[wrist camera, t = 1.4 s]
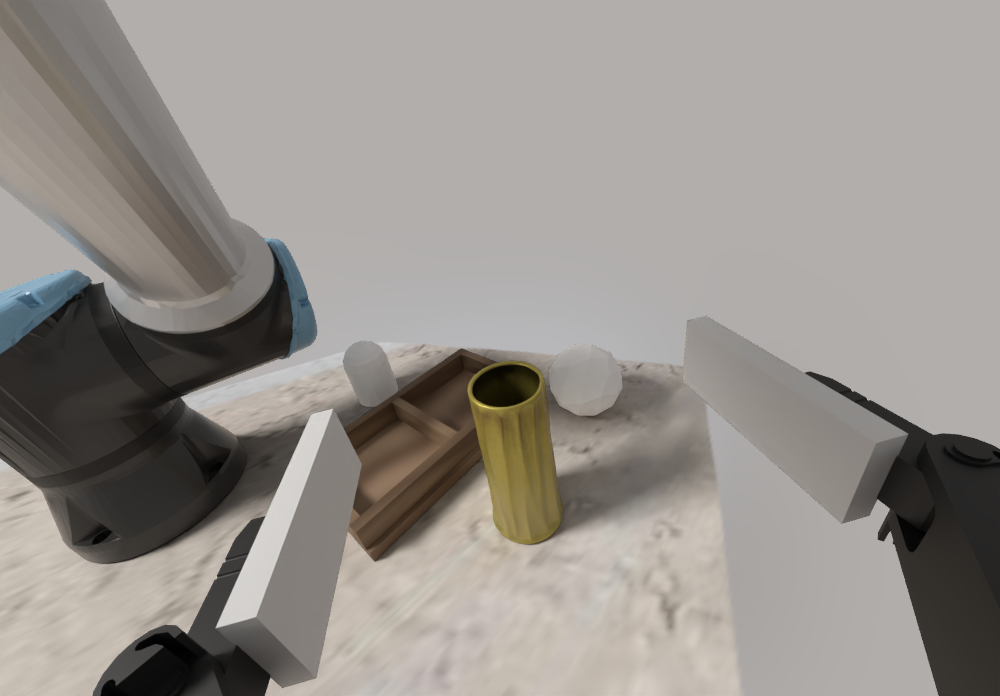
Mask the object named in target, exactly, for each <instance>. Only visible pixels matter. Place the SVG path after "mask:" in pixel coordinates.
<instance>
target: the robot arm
mask: <svg viewBox="0 0 1000 696" xmlns="http://www.w3.org/2000/svg"><path fill="white" fill-rule="evenodd" d="M0 186H1V187H2V188H4V189H5V190H6V191H7V192H8V193H10V194H11V195H12V196H13V197H15V198H16V199H17V200H18V201H19V202H21V203H22V204H23V205H24V206H26V207H27V208H28V209H29V210H31V211H32V212H33V213H34V214H35V215H36V216H38V217H39V218H40V219H41V220H43V221H44V222H45V223H46V224H47V225H49V226H50V227H51V228H52V229H54V230H55V231H56V232H57V233H58V234H60V235H61V236H62V237H63V238H64V239H66V240H67V241H68V242H70V243H71V244H72V245H73V246H74V247H76V248H77V249H78V250H79V251H80V252H82V253H83V254H84V255H85V256H86V257H88V258H89V259H90V260H91V261H93V262H94V263H95V264H96V265H98V266H99V267H100V268H101V269H102V270H104V282H103V283H99V284H92V283H91V281H92V280H91V279H90V278H89V277H88V276H85V275H83V274H82V273H81V272H79V271H77V270H65V271H63V272H59V273H56V274H50V275H47V276H44V277H41V278H38V279H35V280H32V281H29V282H27V283H24V284H21V285H18V286H16V287H13V288H10V289H8V290H5V291H2V292H0V458H1V459H2V460H3V461H4V462H6V463H7V464H8V465H10V466H11V467H12V468H14V469H15V470H16V471H18V472H19V473H20V474H21V475H23V476H24V477H26V478H27V479H28V480H29V481H31V482H32V483H33V484H34V485H35V486H37V487H38V488H39V489H40V490H41V491H42V492H43V494H44V497H45V499H46V501H47V504H48V506H49V508H50V511H51V513H52V515H53V518H54V520H55V522H56V525H57V527H58V529H59V532H60V534H61V536H62V539H63V541H64V542H65V544H66V545H67V546H68V547H69V548H70V549H72V550H73V551H74V552H76V553H77V554H79V555H80V556H81V557H83V558H84V559H86V560H88V561H90V562H94V563H112V562H118V561H122V560H126V559H129V558H132V557H135V556H138V555H141V554H143V553H146V552H148V551H150V550H152V549H155V548H157V547H159V546H161V545H162V544H164V543H166V542H168V541H170V540H172V539H173V538H175V537H176V536H178V535H180V534H181V533H183V532H184V531H186V530H187V529H189V528H190V527H191V526H193V525H194V524H196V523H197V522H198V521H199V520H201V519H202V518H203V517H204V516H206V515H207V514H208V513H209V512H210V511H211V510H212V509H214V508H215V507H216V506H217V505H218V504H219V503H220V502H221V501H222V500H223V499H224V498H225V496H226V495H227V494H228V493H229V492H230V490H231V489H232V488H233V487H234V485H235V484H236V482H237V481H238V479H239V477H240V476H241V474H242V472H243V469H244V467H245V463H246V452H245V449H244V448H243V446H242V445H241V443H240V442H239V441H238V439H237V438H236V437H235V436H234V435H233V434H232V433H231V432H230V431H228V430H227V429H225V428H223V427H222V426H220V425H218V424H217V423H215V422H213V421H211V420H210V419H208V418H206V417H205V416H203V415H201V414H200V413H198V412H196V411H194V410H193V409H191V408H189V407H188V406H187V405H186V404H185V402H184V401H183V400H182V399H181V396H184V395H187V394H189V393H191V392H194V391H197V390H199V389H201V388H204V387H207V386H209V385H212V384H215V383H217V382H220V381H223V380H225V379H228V378H230V377H233V376H236V375H238V374H241V373H243V372H246V371H249V370H251V369H254V368H256V367H259V366H262V365H264V364H267V363H269V362H272V361H275V360H277V359H285V358H288V357H290V356H291V355H292V354H293V353H295V352H297V351H299V350H302V349H304V348H306V347H308V346H310V345H311V344H312V343H313V342H314V341H315V339H316V336H317V325H316V320H315V316H314V312H313V309H312V306H311V303H310V301H309V300H308V295H307V291H306V288H305V285H304V282H303V280H302V277H301V275H300V272H299V270H298V268H297V266H296V264H295V261H294V260H293V257H292V256H291V254H290V252H289V250H288V249H287V247H286V246H285V244H284V243H283V242H281V241H280V240H277V239H266V238H262V237H261V236H260V235H259V234H258V233H257V232H256V231H255V230H254V229H252V228H251V227H249V226H247V225H246V224H244V223H242V222H239V221H237V220H235V219H232V218H231V217H230V216H229V214H228V212H227V211H226V209H225V207H224V205H223V204H222V202H221V200H220V199H219V197H218V195H217V193H216V192H215V190H214V188H213V186H212V185H211V183H210V181H209V179H208V178H207V176H206V174H205V173H204V171H203V169H202V168H201V166H200V164H199V162H198V161H197V159H196V157H195V155H194V154H193V152H192V150H191V148H190V147H189V145H188V143H187V142H186V140H185V138H184V136H183V135H182V133H181V131H180V130H179V128H178V126H177V124H176V123H175V121H174V119H173V117H172V116H171V114H170V112H169V110H168V109H167V107H166V105H165V104H164V102H163V100H162V98H161V97H160V95H159V93H158V91H157V90H156V88H155V86H154V85H153V83H152V81H151V79H150V78H149V76H148V74H147V72H146V71H145V69H144V67H143V66H142V64H141V62H140V60H139V59H138V57H137V55H136V54H135V52H134V50H133V48H132V47H131V45H130V43H129V42H128V40H127V38H126V36H125V35H124V33H123V31H122V29H121V28H120V26H119V24H118V23H117V21H116V19H115V17H114V16H113V14H112V12H111V10H110V9H109V7H108V5H107V3H106V2H105V0H0ZM683 382H684V383H685V384H686V385H687V386H688V387H690V388H691V389H692V390H693V391H694V392H695V393H696V394H697V395H698V396H700V397H701V398H702V399H703V400H704V401H705V402H706V403H707V404H709V405H710V406H711V407H712V408H713V409H714V410H715V411H716V412H717V413H719V414H720V415H721V416H722V417H723V418H724V419H725V420H726V421H728V422H729V423H730V424H731V425H732V426H733V427H734V428H735V429H737V430H738V431H739V432H740V433H741V434H742V435H743V436H744V437H745V438H747V439H748V440H749V441H750V442H751V443H752V444H753V445H754V446H755V447H757V448H758V449H759V450H760V451H761V452H762V453H764V455H766V456H767V457H768V458H769V459H770V460H771V461H772V462H773V463H774V464H776V465H777V466H778V467H779V468H780V469H781V470H782V471H783V472H785V473H786V474H787V475H788V476H789V477H790V478H791V479H792V480H794V482H796V483H797V484H798V485H799V486H800V487H801V488H802V489H803V490H805V491H806V492H807V493H808V494H809V495H810V496H811V497H812V498H813V499H815V500H816V501H817V502H818V503H819V504H820V505H821V506H822V507H824V508H825V509H826V510H827V511H828V512H829V513H830V514H831V515H833V516H834V517H835V518H836V519H837V520H838V521H839V522H840V523H841V524H842V523H846V522H849V521H853V520H856V519H860V518H863V517H866V516H869V515H870V513H871V511H872V509H873V507H874V505H875V503H876V501H877V499H878V500H880V501H881V502H882V503H884V504H885V505H886V506H887V507H889V508H890V511H889V513H888V515H887V516H886V518H885V520H884V522H883V524H882V526H881V528H880V530H879V532H878V540H881V541H884V540H885V538H886V536H887V535H888V533H889V532H890V531H891V534H892V537H893V540H894V541H893V544H895V547H896V551H897V554H898V557H899V561H900V564H901V568H902V571H903V575H904V578H905V582H906V585H907V588H908V592H909V595H910V599H911V602H912V606H913V609H914V612H915V616H916V619H917V623H918V626H919V630H920V633H921V637H922V640H923V643H924V647H925V650H926V653H927V657H928V660H929V664H930V667H931V671H932V674H933V678H934V681H935V685H936V688H937V691H938V695H939V696H1000V449H998V448H997V447H995V446H993V445H991V444H988V443H985V442H983V441H980V440H978V439H975V438H971V437H966V436H962V435H956V434H938V435H932V434H930V433H928V432H927V431H925V430H923V429H921V428H919V427H918V426H916V425H914V424H912V423H910V422H909V421H907V420H905V419H903V418H902V417H900V416H898V415H896V414H894V413H893V412H891V411H889V410H887V409H885V408H883V407H882V406H880V405H878V404H876V403H875V402H873V401H871V400H870V401H868V400H867V398H866V397H864V396H862V395H860V394H859V393H857V392H855V391H854V392H852V391H851V389H850V388H848V387H846V386H844V385H842V384H841V383H839V382H837V381H835V380H833V379H831V378H828V377H825V376H822V375H819V374H816V373H813V372H806V373H803V372H802V371H800V370H798V369H796V368H795V367H793V366H791V365H790V364H788V363H786V362H784V361H783V360H781V359H779V358H777V357H776V356H774V355H772V354H771V353H769V352H767V351H765V350H764V349H762V348H760V347H759V346H757V345H755V344H754V343H752V342H750V341H749V340H747V339H745V338H743V337H742V336H740V335H738V334H737V333H735V332H733V331H731V330H730V329H728V328H726V327H725V326H723V325H721V324H719V323H718V322H716V321H714V320H712V319H711V318H709V317H707V316H704V317H700V318H696V319H692V320H688V321H687V328H686V341H685V355H684V368H683ZM361 466H362V464H361V462H360V460H359V458H358V456H357V454H356V452H355V450H354V448H353V446H352V444H351V442H350V440H349V438H348V436H347V434H346V432H345V430H344V428H343V426H342V424H341V423H340V421H339V419H338V417H337V415H336V413H335V411H334V409H330V410H326V411H322V412H318V413H314V414H311V416H310V418H309V420H308V423H307V425H306V427H305V429H304V432H303V434H302V436H301V438H300V441H299V443H298V445H297V447H296V449H295V452H294V454H293V456H292V458H291V461H290V463H289V465H288V467H287V470H286V472H285V474H284V476H283V478H282V481H281V483H280V485H279V487H278V490H277V492H276V494H275V496H274V499H273V501H272V503H271V505H270V507H269V510H268V512H267V514H266V516H264V517H261V518H257V519H253V520H251V521H250V522H249V523H248V524H247V526H246V527H245V528H244V529H243V530H242V532H241V533H240V534H239V535H238V536H237V537H236V539H235V540H234V542H233V544H232V546H231V548H230V550H229V552H228V554H227V556H226V558H225V559H226V562H225V563H223V564H222V566H221V568H220V570H219V572H218V574H217V579H216V580H214V582H213V584H212V586H211V588H210V590H209V592H208V594H207V596H206V598H205V600H204V602H203V604H202V606H201V608H200V610H199V612H198V614H197V616H196V618H195V620H194V622H193V624H192V626H191V628H190V630H189V632H188V634H186V633H185V632H183V631H182V630H181V629H180V628H179V627H177V626H176V625H164V626H161V627H158V628H156V629H153V630H150V631H149V632H147V633H146V634H144V635H143V636H141V637H140V638H138V639H137V640H135V641H134V642H133V643H132V644H130V645H129V646H128V647H127V648H126V649H125V650H124V651H123V652H122V653H121V654H119V655H118V656H117V657H116V659H115V660H114V661H113V662H112V664H111V665H110V666H109V667H108V669H107V670H106V671H105V672H104V673H103V675H102V677H101V679H100V681H99V682H98V684H97V686H96V688H95V690H94V692H93V696H265V693H266V690H267V686H268V683H269V680H270V677H271V678H272V679H273V680H274V681H275V682H276V683H277V684H278V685H280V686H281V687H282V688H284V687H288V686H291V685H295V684H298V683H301V682H305V681H308V680H312V679H315V678H316V677H317V673H318V668H319V663H320V658H321V654H322V649H323V644H324V640H325V635H326V630H327V626H328V621H329V616H330V612H331V607H332V602H333V597H334V593H335V588H336V583H337V579H338V574H339V569H340V565H341V560H342V555H343V551H344V546H345V541H346V536H347V532H348V527H349V522H350V518H351V513H352V508H353V504H354V499H355V494H356V490H357V485H358V480H359V475H360V471H361Z"/></svg>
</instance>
